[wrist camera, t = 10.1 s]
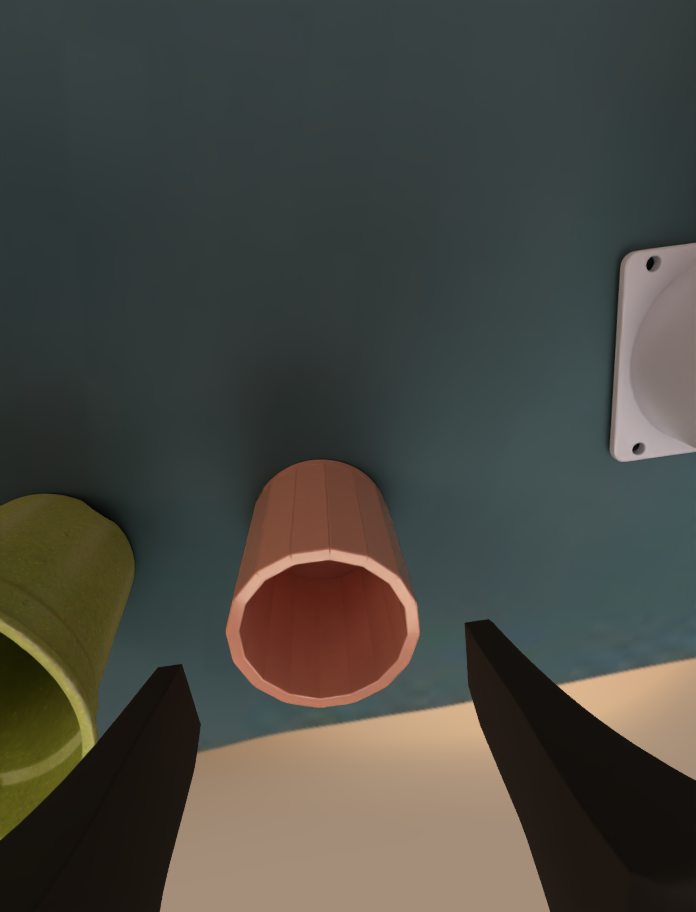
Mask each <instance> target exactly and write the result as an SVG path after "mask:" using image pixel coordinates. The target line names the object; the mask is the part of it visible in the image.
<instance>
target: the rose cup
mask: <svg viewBox="0 0 696 912" xmlns="http://www.w3.org/2000/svg"><path fill="white" fill-rule="evenodd" d="M226 636H227V640H228V644H229V648H230V652H231V655H232V659H233V661H234V663H235V665H236V666H237V667H238V668H239V669H240V670H241V672H242V673H243V674H244V675H245V676H246V678H247V679H248V680H249V681H250V682H251V683H252V685H253V686H255V687H256V688H258V689H260V690H262V691H264V692H265V693H267V694H269V695H271V696H273V697H275V698H277V699H279V700H281V701H282V702H285V703H291V704H297V705H303V706H310V707H316V708H319V707H320V708H323V707H329V706H336V705H343V704H350V703H354V702H357V701H359V700H361V699H363V698H365V697H367V696H369V695H371V694H374V693H376V692H378V691H380V690H382V689H384V688H385V687H387V686H388V685H389V684H390V683H391V682H392V681H393V680H394V679H395V677H396V676H397V675H398V674H399V673H400V672H401V671H402V670H403V669H404V668H405V667H406V666H407V665H408V663H409V662H410V659H411V657H412V654H413V652H414V649H415V646H416V644H417V641H418V639H419V636H420V625H419V615H418V604H417V601H416V598H415V594H414V591H413V588H412V585H411V581H410V578H409V575H408V572H407V568H406V565H405V562H404V559H403V555H402V552H401V549H400V545H399V542H398V539H397V536H396V532H395V529H394V526H393V523H392V519H391V516H390V513H389V509H388V506H387V505H386V503H385V501H384V498H383V496H382V494H381V492H380V490H379V489H378V487H377V486H376V484H375V483H374V482H373V481H372V480H371V479H370V478H369V477H368V476H367V475H365V474H364V473H363V472H362V471H360V470H358V469H357V468H355V467H353V466H350V465H348V464H345V463H342V462H339V461H333V460H322V459H319V460H309V461H304V462H300V463H297V464H294V465H292V466H290V467H288V468H286V469H284V470H282V471H281V472H279V473H278V474H277V475H275V476H274V477H273V478H272V479H271V480H270V481H269V482H268V483H267V484H266V485H265V487H264V488H263V490H262V491H261V493H260V495H259V497H258V499H257V501H256V503H255V507H254V512H253V516H252V520H251V524H250V528H249V533H248V537H247V541H246V545H245V549H244V554H243V558H242V562H241V566H240V570H239V574H238V579H237V583H236V587H235V591H234V595H233V600H232V604H231V608H230V612H229V617H228V621H227V625H226Z"/></svg>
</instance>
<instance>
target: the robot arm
mask: <svg viewBox="0 0 696 912" xmlns="http://www.w3.org/2000/svg"><path fill="white" fill-rule="evenodd" d="M650 257H652V258H653V259H654V265H653V267H652V268H651V270H649V271H648V270H647V267H646V264H647V261H648V259H649V258H650ZM637 443H639V444H640V445H639V448H638V449H637V450H636V451H632V449H633V446H634V445H635V444H637ZM690 452H696V243H689V244H682V245H674V246H667V247H660V248H652V249H645V250H638V251H633V252H630V253H629V254H627V255H626V256H625V257H624V259H623V260H622V262H621V266H620V280H619V297H618V314H617V332H616V349H615V366H614V383H613V400H612V418H611V435H610V454H611V455H612V457H614V458H615V459H617V460H619V461H621V462H626V461H634V460H641V459H648V458H655V457H662V456H669V455H676V454H683V453H690ZM465 635H466V653H467V670H468V686H469V689H470V692H471V696H472V699H473V703H474V706H475V709H476V713H477V716H478V719H479V723H480V726H481V728H482V731H483V733H484V735H485V738H486V740H487V743H488V745H489V748H490V750H491V752H492V755H493V757H494V760H495V762H496V764H497V767H498V769H499V771H500V774H501V776H502V779H503V781H504V783H505V785H506V788H507V790H508V793H509V795H510V798H511V800H512V802H513V805H514V807H515V809H516V812H517V814H518V817H519V819H520V822H521V824H522V827H523V830H524V832H525V835H526V838H527V840H528V843H529V847H530V850H531V853H532V856H533V859H534V862H535V865H536V868H537V871H538V874H539V878H540V880H541V884H542V887H543V890H544V893H545V896H546V899H547V903H548V906H549V909H550V912H696V780H694V779H692V778H690V777H688V776H686V775H684V774H683V773H681V772H679V771H678V770H676V769H674V768H672V767H670V766H669V765H667V764H666V763H664V762H662V761H661V760H659V759H657V758H656V757H654V756H652V755H651V754H649V753H648V752H646V751H644V750H643V749H641V748H640V747H638V746H636V745H635V744H633V743H632V742H630V741H629V740H627V739H626V738H624V737H623V736H621V735H620V734H618V733H617V732H615V731H614V730H612V729H611V728H610V727H608V726H607V725H606V724H604V723H603V722H602V721H600V720H599V719H598V718H596V717H594V715H592V714H591V713H590V712H588V711H587V710H586V709H585V708H583V707H582V706H581V705H580V704H578V703H577V702H576V701H575V700H573V699H572V698H571V697H570V696H569V695H567V694H566V693H565V692H564V691H563V690H561V689H560V688H559V687H558V686H557V685H556V684H555V683H553V682H552V681H551V680H550V679H549V678H548V677H547V676H546V675H545V674H544V673H543V672H541V671H540V670H539V669H538V668H537V667H536V666H535V665H534V664H533V663H532V662H531V661H530V660H529V659H528V658H527V657H526V656H525V655H524V654H523V653H522V652H521V651H520V650H519V649H518V648H517V647H516V646H515V645H514V644H513V643H512V642H511V641H510V640H509V639H508V638H507V637H506V636H505V635H504V634H503V633H502V632H501V631H500V630H499V629H498V628H497V626H496V625H495V624H494V623H493V622H492V621H490V620H489V619H487V620H480V621H473V622H467V623H465ZM200 726H201V724H200V721H199V718H198V715H197V711H196V708H195V705H194V702H193V698H192V695H191V692H190V689H189V685H188V682H187V679H186V676H185V672H184V669H183V666H182V664H179V665H172V666H165V667H158V668H157V669H156V671H155V672H154V673H153V674H152V675H151V677H150V678H149V679H148V680H147V682H146V683H145V684H144V685H143V687H142V688H141V689H140V690H139V692H138V693H137V694H136V695H135V697H134V698H133V699H132V700H131V702H130V703H129V704H128V705H127V707H126V708H125V709H124V710H123V712H122V713H121V714H120V715H119V717H118V718H117V719H116V720H115V721H114V723H113V724H112V725H111V726H110V727H109V729H108V730H107V731H106V732H105V733H104V735H103V736H102V737H101V738H100V739H99V741H98V742H97V743H96V744H95V745H94V746H93V747H92V749H91V750H90V751H89V752H88V753H87V754H86V755H85V756H84V758H83V759H82V760H81V761H80V762H79V763H78V764H77V765H76V767H75V768H74V769H73V770H72V771H71V772H70V773H69V774H68V775H67V777H66V778H65V779H64V780H63V781H62V782H61V783H60V784H59V785H58V786H57V787H56V788H55V789H54V790H53V791H52V792H51V793H50V794H49V795H48V796H47V797H46V798H45V799H44V800H43V801H42V802H41V803H40V804H39V805H38V806H37V807H36V808H35V809H34V810H33V811H32V812H31V813H30V814H29V815H28V816H27V817H26V818H24V819H23V820H22V821H21V822H20V823H19V824H18V825H17V826H16V827H15V828H14V829H12V830H11V831H10V832H9V833H8V834H7V835H6V836H4V837H3V838H2V839H1V840H0V912H160V907H161V900H162V895H163V890H164V886H165V881H166V877H167V873H168V868H169V864H170V860H171V857H172V853H173V849H174V846H175V842H176V838H177V834H178V830H179V826H180V822H181V819H182V815H183V811H184V808H185V804H186V800H187V796H188V792H189V788H190V784H191V780H192V777H193V772H194V768H195V762H196V756H197V749H198V742H199V734H200Z"/></svg>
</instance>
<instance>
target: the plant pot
mask: <svg viewBox="0 0 696 912" xmlns="http://www.w3.org/2000/svg"><path fill="white" fill-rule="evenodd" d="M134 574H135V562H134V555H133V552H132V549H131V546H130V544H129V542H128V540H127V538H126V536H125V534H124V533H123V532H122V530H121V529H120V528H119V526H118V525H117V524H116V523H114V522H113V521H111V520H109V519H107V518H105V517H104V516H102V515H101V514H99V513H97V512H96V511H94V510H93V509H92V508H90V507H89V506H88V505H87V504H86V503H84V502H83V501H81V500H78V499H75V498H72V497H69V496H65V495H58V494H43V493H42V494H34V495H28V496H24V497H20V498H17V499H15V500H12V501H10V502H8V503H6V504H4V505H1V506H0V840H1V839H2V838H3V837H4V836H6V835H7V834H8V833H9V832H10V831H11V830H12V829H14V828H15V827H16V826H17V825H18V824H19V823H20V822H21V821H22V820H23V819H24V818H26V817H27V816H28V815H29V814H30V813H31V812H32V811H33V810H34V809H35V808H36V807H37V806H38V805H39V804H40V803H41V802H42V801H43V800H44V799H45V798H46V797H47V796H48V795H49V794H50V793H51V792H52V791H53V790H54V789H55V788H56V787H57V786H58V785H59V784H60V783H61V782H62V781H63V780H64V779H65V778H66V777H67V775H68V774H69V773H70V772H71V771H72V770H73V769H74V768H75V767H76V765H77V764H78V763H79V762H80V761H81V760H82V759H83V758H84V756H85V755H86V754H87V753H88V752H89V751H90V750H91V749H92V747H93V746H94V745H95V744H96V743H97V742H98V731H97V723H96V714H97V709H98V687H99V684H100V681H101V678H102V675H103V672H104V668H105V665H106V662H107V659H108V656H109V653H110V650H111V646H112V643H113V640H114V637H115V634H116V631H117V628H118V625H119V622H120V620H121V617H122V614H123V611H124V608H125V605H126V602H127V599H128V596H129V593H130V590H131V587H132V584H133V581H134Z"/></svg>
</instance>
